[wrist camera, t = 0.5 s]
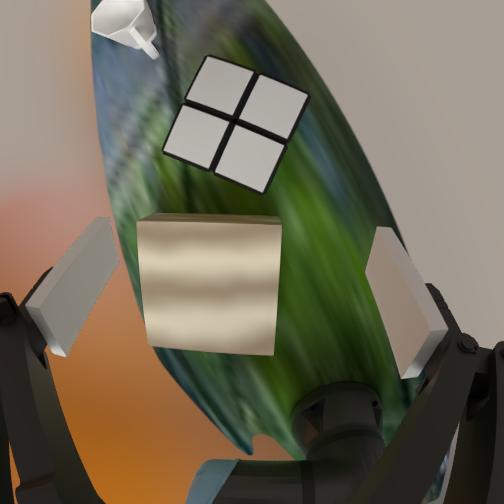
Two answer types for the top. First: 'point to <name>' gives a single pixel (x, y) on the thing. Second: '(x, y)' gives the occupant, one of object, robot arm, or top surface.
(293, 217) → the top surface
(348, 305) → the top surface
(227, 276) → the stand
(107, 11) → the cup
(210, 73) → the puzzle cube
